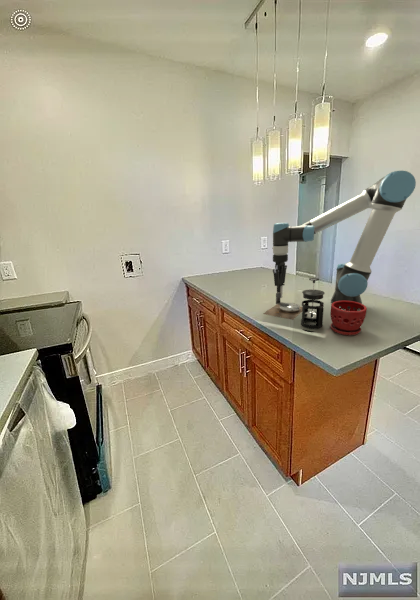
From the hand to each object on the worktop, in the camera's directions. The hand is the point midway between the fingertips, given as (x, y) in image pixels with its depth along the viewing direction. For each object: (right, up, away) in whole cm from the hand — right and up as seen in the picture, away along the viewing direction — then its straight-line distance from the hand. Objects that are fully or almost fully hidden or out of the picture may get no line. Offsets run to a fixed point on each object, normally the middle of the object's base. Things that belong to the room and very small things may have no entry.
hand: (279, 297), depth 135 cm
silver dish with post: (+3, -6, -3) cm, 8 cm away
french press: (+8, -14, -23) cm, 29 cm away
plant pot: (+21, -15, -28) cm, 38 cm away
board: (+2, -9, -4) cm, 10 cm away
